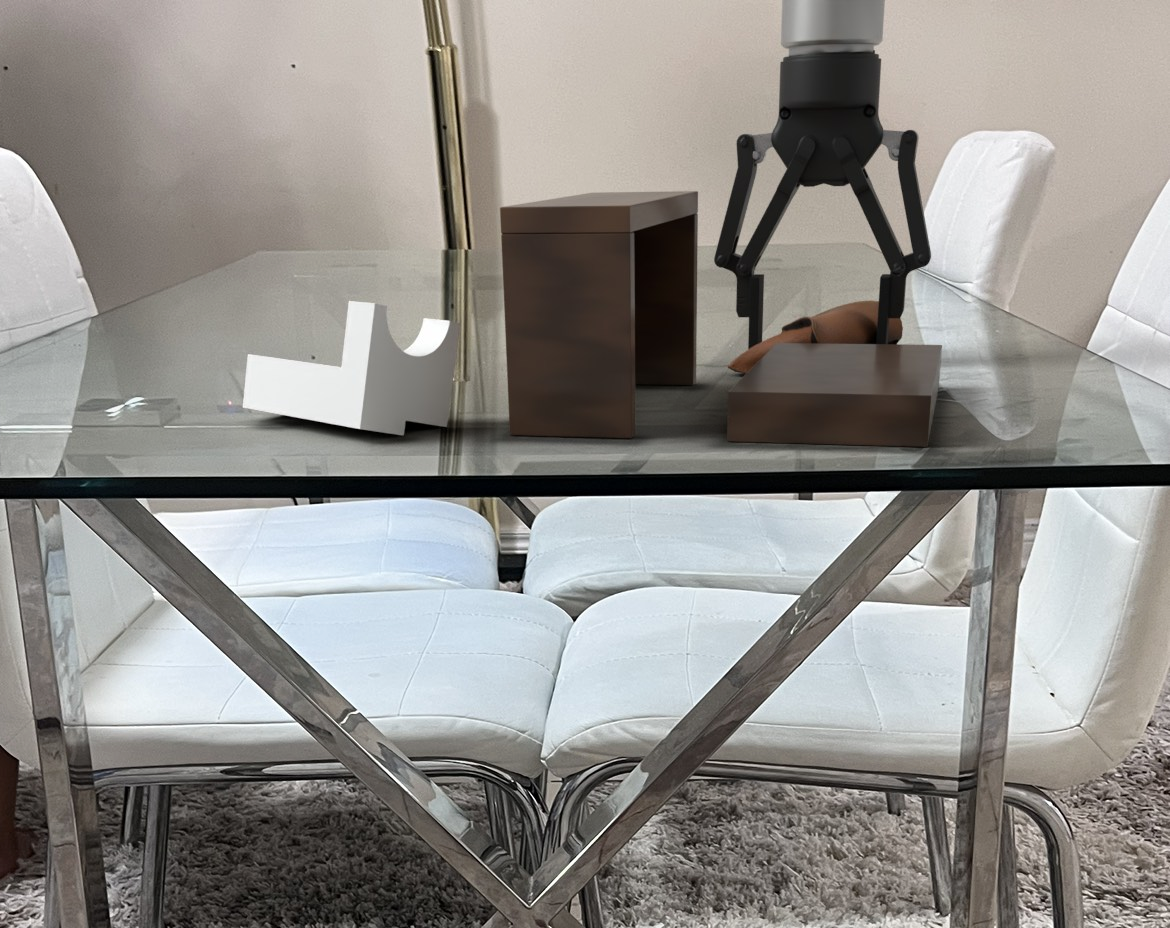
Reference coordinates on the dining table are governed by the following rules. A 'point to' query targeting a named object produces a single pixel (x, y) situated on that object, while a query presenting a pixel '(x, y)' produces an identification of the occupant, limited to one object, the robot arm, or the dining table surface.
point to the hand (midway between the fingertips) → (817, 359)
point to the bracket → (363, 377)
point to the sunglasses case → (826, 331)
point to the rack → (672, 335)
